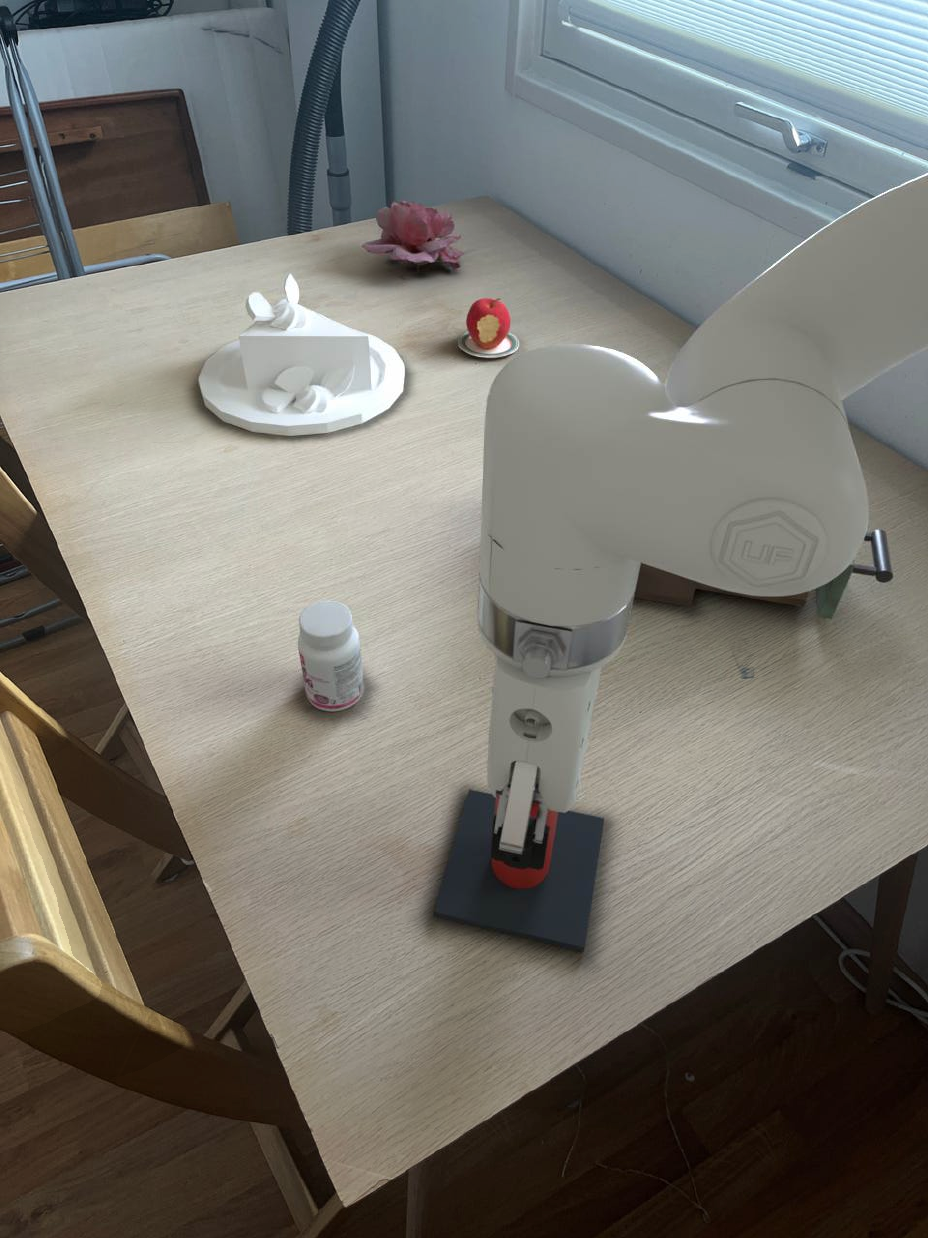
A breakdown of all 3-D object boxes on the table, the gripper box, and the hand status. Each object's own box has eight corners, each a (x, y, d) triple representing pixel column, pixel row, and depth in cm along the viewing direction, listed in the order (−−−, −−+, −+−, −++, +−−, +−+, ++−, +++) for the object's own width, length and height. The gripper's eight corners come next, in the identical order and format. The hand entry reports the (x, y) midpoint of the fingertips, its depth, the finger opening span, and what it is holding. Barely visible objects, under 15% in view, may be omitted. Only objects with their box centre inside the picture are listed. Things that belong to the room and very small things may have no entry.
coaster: (603, 822, 63) (604, 818, 63) (583, 952, 56) (584, 948, 56) (468, 793, 65) (469, 789, 65) (433, 916, 58) (433, 912, 58)
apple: (531, 350, 115) (534, 302, 110) (481, 366, 112) (482, 317, 107) (495, 326, 120) (497, 279, 115) (446, 341, 116) (446, 293, 112)
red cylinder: (554, 844, 61) (570, 742, 53) (544, 895, 59) (559, 795, 51) (498, 831, 62) (506, 729, 54) (485, 881, 59) (492, 781, 51)
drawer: (870, 548, 85) (893, 495, 81) (881, 628, 77) (908, 574, 73) (675, 517, 88) (688, 465, 84) (667, 591, 80) (680, 537, 76)
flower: (427, 280, 123) (431, 202, 119) (346, 270, 130) (347, 195, 126) (484, 277, 134) (489, 205, 130) (407, 267, 141) (409, 199, 137)
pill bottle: (293, 692, 72) (280, 618, 66) (337, 661, 74) (328, 587, 69) (332, 723, 70) (321, 649, 64) (376, 690, 72) (370, 616, 66)
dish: (159, 410, 103) (136, 318, 95) (266, 321, 120) (253, 237, 112) (350, 453, 97) (342, 359, 89) (433, 353, 114) (433, 266, 106)
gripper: (608, 754, 37) (567, 949, 49) (647, 509, 49) (606, 715, 61) (434, 719, 38) (436, 918, 50) (514, 489, 50) (500, 694, 62)
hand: (530, 805), depth 55 cm, fingers open, 7 cm apart
